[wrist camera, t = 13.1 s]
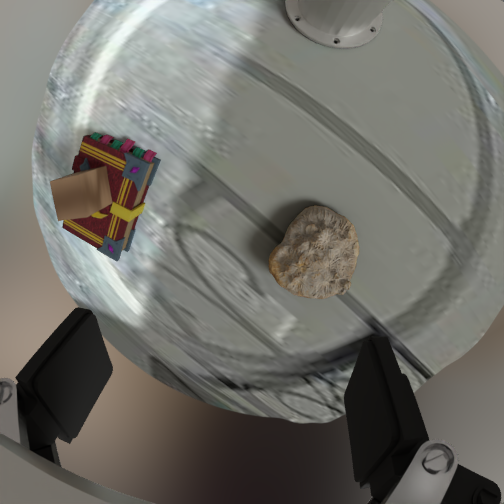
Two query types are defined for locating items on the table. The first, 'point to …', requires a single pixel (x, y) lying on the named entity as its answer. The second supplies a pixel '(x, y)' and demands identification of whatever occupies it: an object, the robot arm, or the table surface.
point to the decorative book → (114, 192)
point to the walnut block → (81, 193)
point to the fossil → (316, 254)
